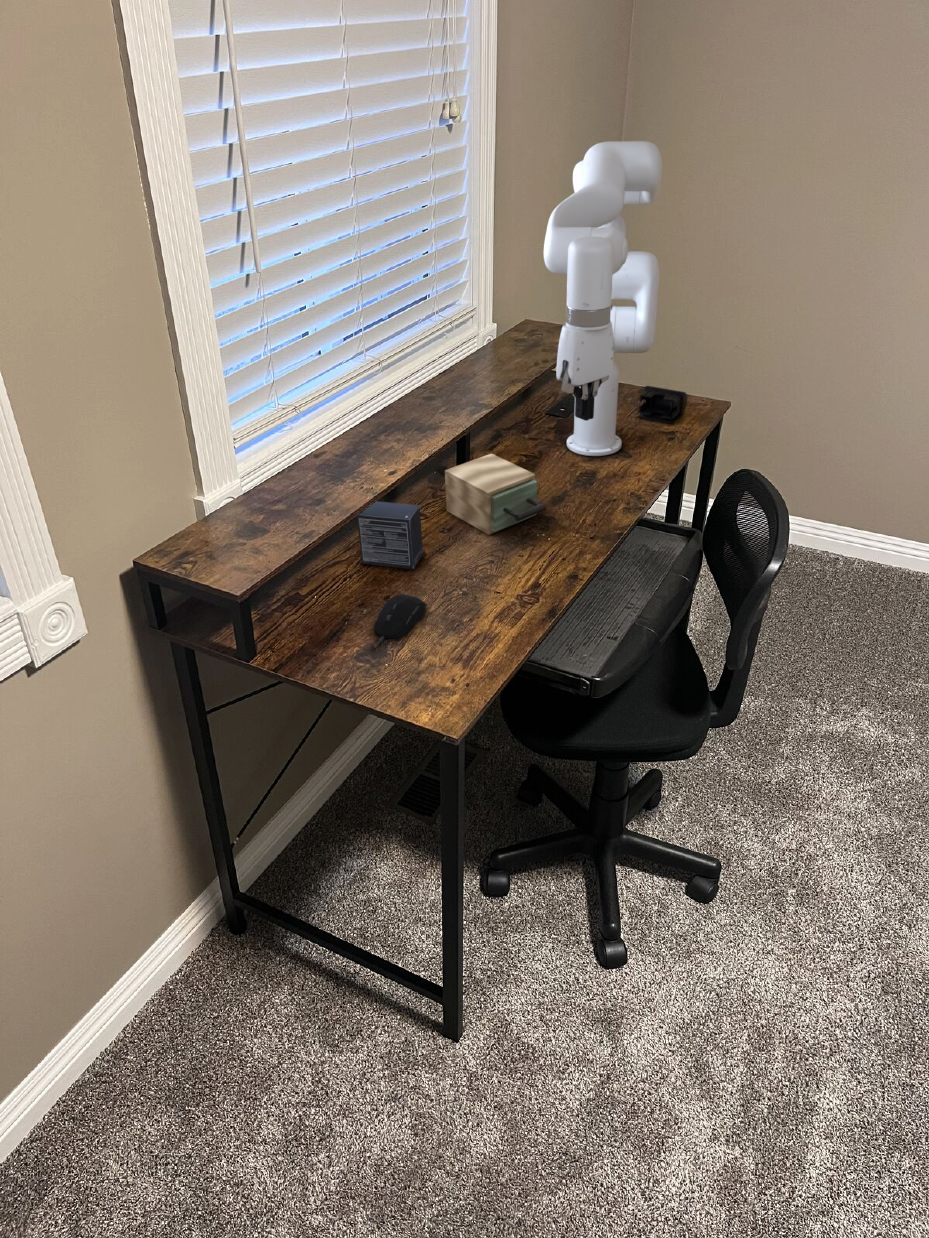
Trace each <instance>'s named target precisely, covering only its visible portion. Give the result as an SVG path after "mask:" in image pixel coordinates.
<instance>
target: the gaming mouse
mask: <svg viewBox="0 0 929 1238" xmlns="http://www.w3.org/2000/svg"><path fill="white" fill-rule="evenodd" d="M426 610H427V606H426V603H425V602H424V601H423V600H422V599H420V598H419V597H417V596H414V595H409V594H405V593H401V594H396V595H394V596H391V597H389V598H388V600H387V601H385V603H384V605H383V607H382V609H381V610H380V612H379V614H378V616H377V619H376V621H375V623H374V628H373V630H374V631H373V632H374V633H375V634H376V635H377V636H378V637H379V638H378V640H377V643H376V644H375V645H374V647H373V649H374V650H376V649H377V648H378V646H379V645H380V644H382V643H383V642H384V640H385V639H398V638H400V637H402V636H404V635H405V634H407V633H408V632H409V631H410V630H411V629H412V628H413V627H414V626H415V624H416V623H417V622H419V621H420V620H421V619H422V618H423V616H424V615H425V613H426Z"/></svg>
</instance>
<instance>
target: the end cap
mask: <svg viewBox="0 0 929 1238" xmlns="http://www.w3.org/2000/svg"><path fill="white" fill-rule="evenodd" d="M638 400H639V402H642V401H643V402H642V403H641V404H640V405H639V406H638V413H639V414H638V418H639V419H640V420H641V419H642V420H645V421H651V422H657V423H663V424H667V425H674V424H676V422H678V421H679V420H680V419H681V417H682V416H684V413H685V411H686V408H687V403H688V394H687V393H686V391H681V390H675V389H669V388H665V387H664V388H663V387H659V386H652V385H645V386H644V392H642V393H641V394H640V395H639V398H638Z"/></svg>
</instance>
